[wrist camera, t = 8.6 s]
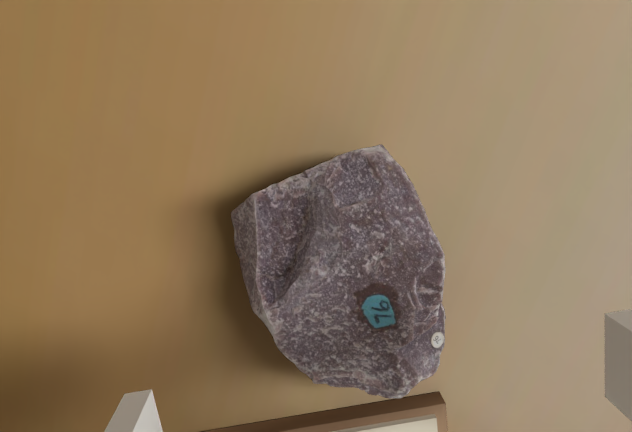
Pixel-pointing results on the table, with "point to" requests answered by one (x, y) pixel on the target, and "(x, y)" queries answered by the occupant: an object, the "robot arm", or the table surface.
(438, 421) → the board
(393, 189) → the rock
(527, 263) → the table surface
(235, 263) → the table surface
